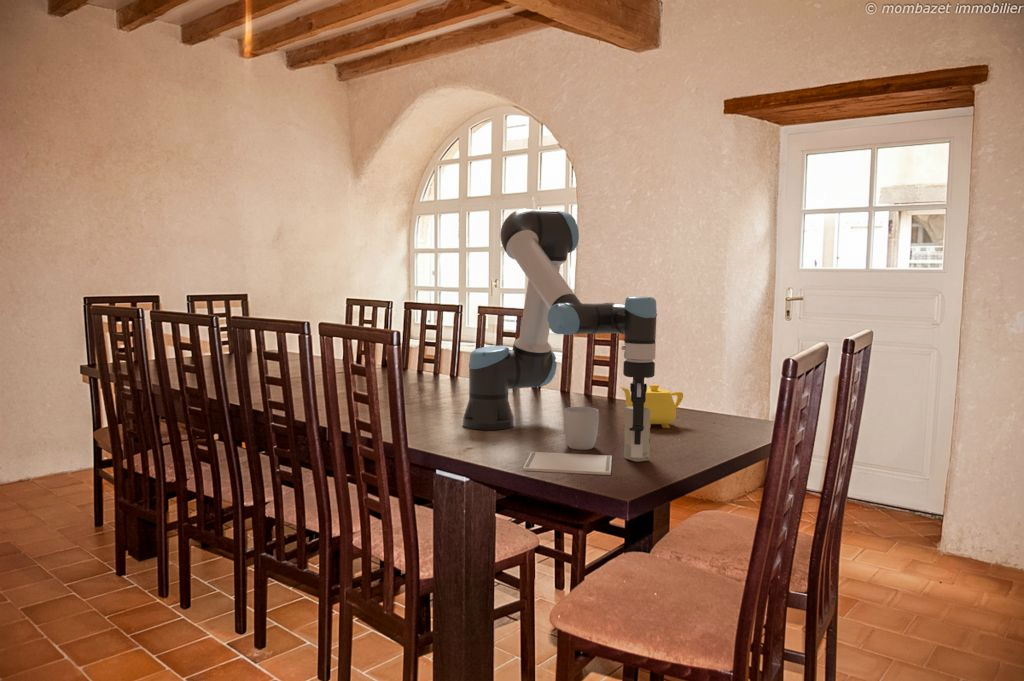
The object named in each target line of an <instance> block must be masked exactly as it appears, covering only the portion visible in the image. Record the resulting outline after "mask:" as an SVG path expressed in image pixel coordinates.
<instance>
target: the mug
mask: <svg viewBox="0 0 1024 681" xmlns="http://www.w3.org/2000/svg"><path fill="white" fill-rule="evenodd" d="M563 416H564V418H563V420H564V422H563V427H564V435H565V441H566V444H567V446H568V447H569V448H570V449H573V450H581V451H585V450H591V449H593V448H594V446H595V445H596V442H597V437H598V431H599V425H600V424H599V423H600V422H599V421H600V417H599V416H600V412H599V409H598V408H595V407H590V406H570V407H565V408H564V414H563Z"/></svg>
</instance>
